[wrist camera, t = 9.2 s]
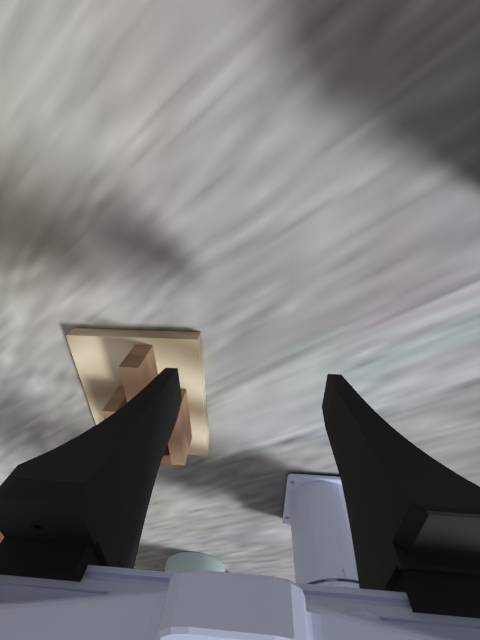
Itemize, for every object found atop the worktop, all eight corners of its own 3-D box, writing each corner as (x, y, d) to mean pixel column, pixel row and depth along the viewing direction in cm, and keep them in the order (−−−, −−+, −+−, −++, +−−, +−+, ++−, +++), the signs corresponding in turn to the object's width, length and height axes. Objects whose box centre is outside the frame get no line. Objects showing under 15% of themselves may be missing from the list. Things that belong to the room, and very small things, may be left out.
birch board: (209, 445, 30) (207, 455, 29) (110, 439, 30) (104, 449, 29) (200, 331, 23) (197, 339, 22) (74, 328, 24) (65, 335, 23)
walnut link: (192, 437, 28) (184, 465, 25) (131, 434, 28) (117, 461, 25) (181, 346, 23) (170, 369, 20) (107, 343, 23) (87, 365, 20)
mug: (164, 574, 45) (140, 672, 36) (169, 547, 41) (143, 650, 32) (247, 589, 45) (243, 690, 37) (260, 564, 41) (260, 670, 32)
